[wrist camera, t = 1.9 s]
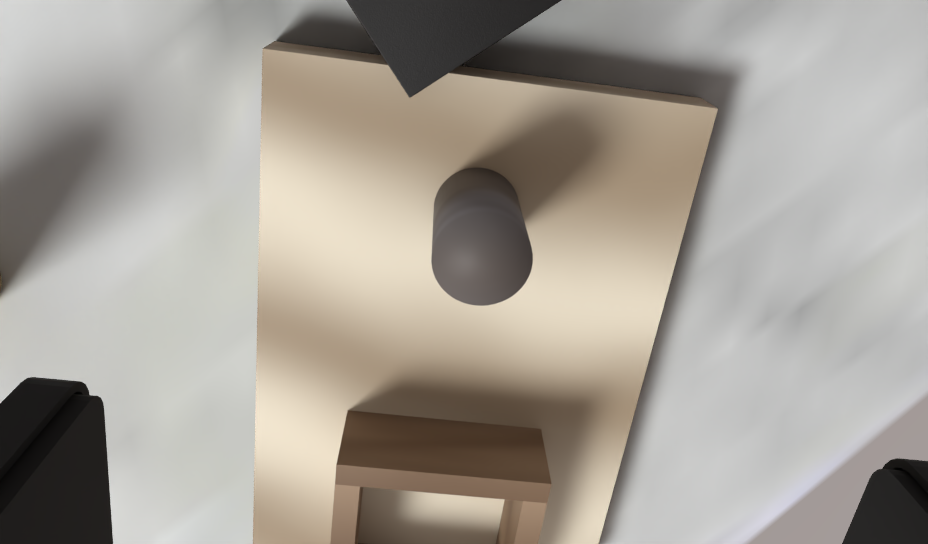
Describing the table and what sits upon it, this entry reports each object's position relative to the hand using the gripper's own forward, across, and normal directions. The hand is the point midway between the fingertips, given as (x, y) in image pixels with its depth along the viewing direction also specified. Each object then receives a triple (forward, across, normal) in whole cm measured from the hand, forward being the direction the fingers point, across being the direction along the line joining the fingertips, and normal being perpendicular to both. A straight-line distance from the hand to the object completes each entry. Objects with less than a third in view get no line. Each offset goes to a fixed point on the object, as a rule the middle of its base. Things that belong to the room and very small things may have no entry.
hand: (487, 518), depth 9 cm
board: (+11, 0, +3) cm, 11 cm away
